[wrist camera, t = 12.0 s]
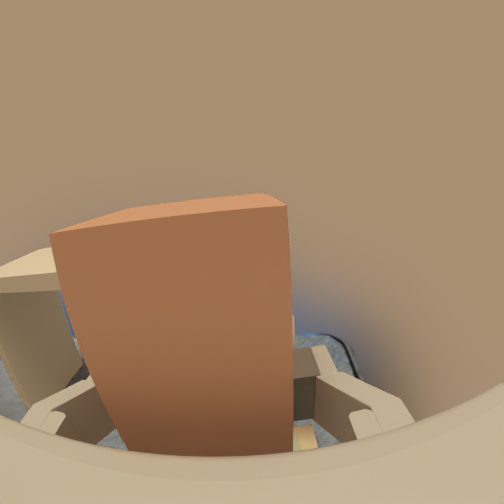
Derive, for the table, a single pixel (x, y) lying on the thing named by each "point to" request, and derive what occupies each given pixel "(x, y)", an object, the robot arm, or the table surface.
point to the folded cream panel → (35, 328)
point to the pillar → (186, 322)
